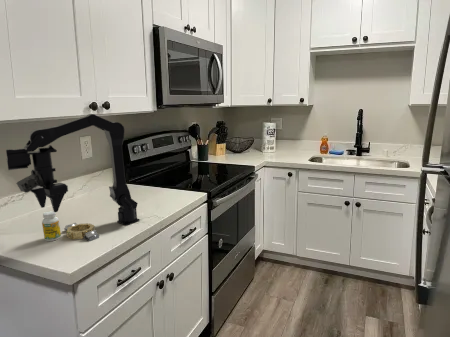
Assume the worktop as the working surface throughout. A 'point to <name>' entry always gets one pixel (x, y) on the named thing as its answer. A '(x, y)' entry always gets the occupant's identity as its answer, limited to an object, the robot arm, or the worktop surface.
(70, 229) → the chain joint
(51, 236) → the supplement bottle
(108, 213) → the worktop surface
